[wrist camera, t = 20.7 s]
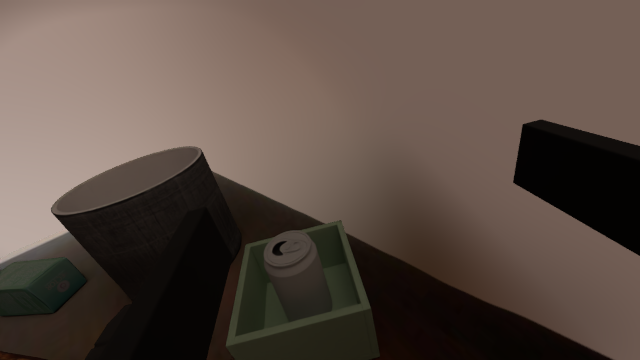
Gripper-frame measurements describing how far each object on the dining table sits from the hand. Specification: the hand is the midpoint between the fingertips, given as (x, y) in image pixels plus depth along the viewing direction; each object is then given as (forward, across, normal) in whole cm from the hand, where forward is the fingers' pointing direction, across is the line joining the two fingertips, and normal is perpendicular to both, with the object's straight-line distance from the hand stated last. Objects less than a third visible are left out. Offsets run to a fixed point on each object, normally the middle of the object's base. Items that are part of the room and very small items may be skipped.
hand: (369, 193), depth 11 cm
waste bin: (+14, -8, -26) cm, 31 cm away
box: (+32, -61, -26) cm, 73 cm away
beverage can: (+14, -7, -26) cm, 30 cm away
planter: (+33, -32, -26) cm, 53 cm away
